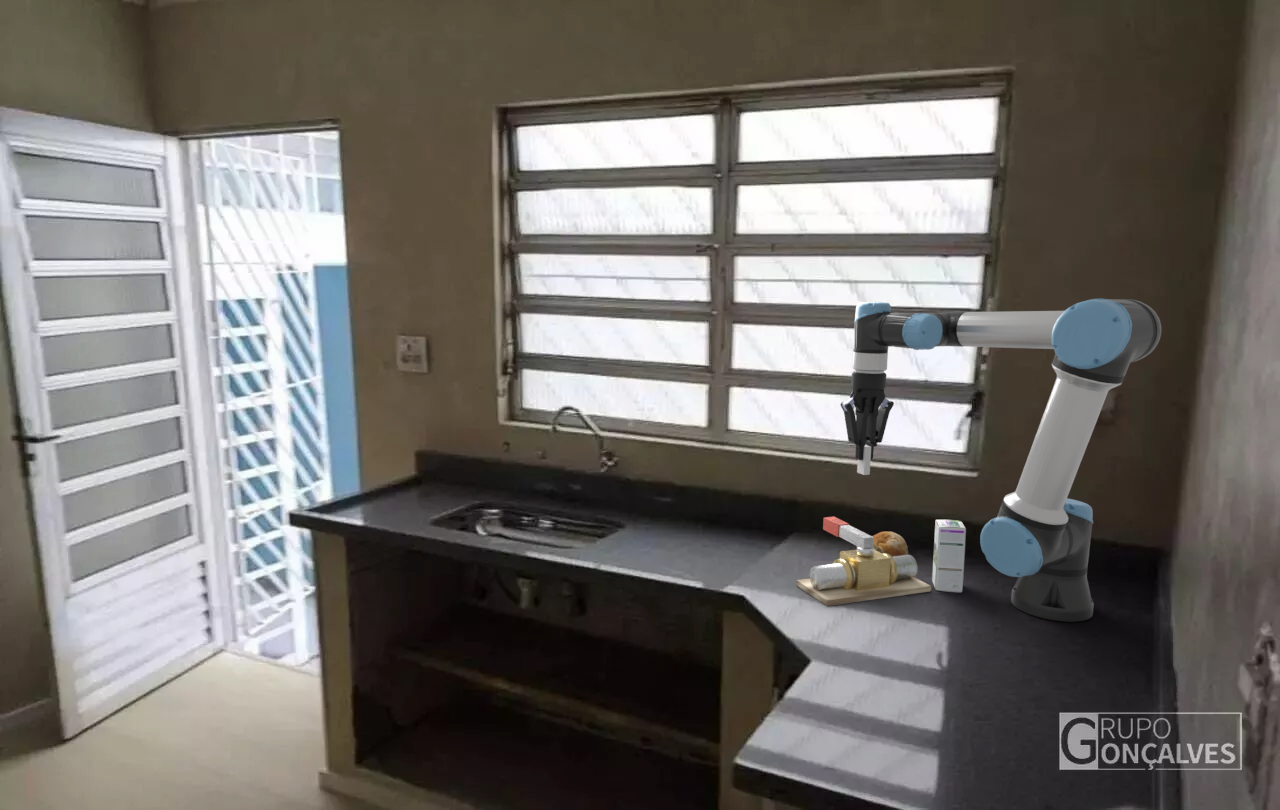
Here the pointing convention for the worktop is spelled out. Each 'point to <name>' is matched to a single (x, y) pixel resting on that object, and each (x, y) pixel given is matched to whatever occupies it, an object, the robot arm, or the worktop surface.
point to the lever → (850, 535)
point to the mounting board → (864, 591)
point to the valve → (863, 571)
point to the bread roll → (890, 544)
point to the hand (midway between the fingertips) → (863, 473)
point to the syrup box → (949, 555)
